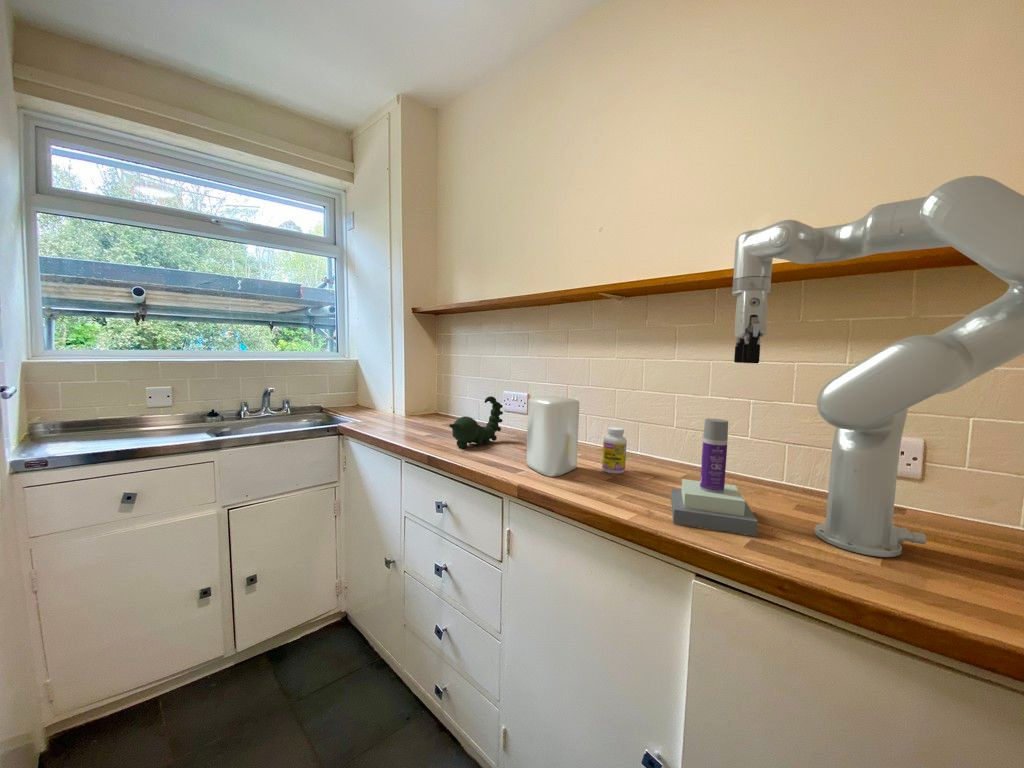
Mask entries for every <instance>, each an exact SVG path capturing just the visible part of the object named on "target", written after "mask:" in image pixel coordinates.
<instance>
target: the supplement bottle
mask: <svg viewBox="0 0 1024 768" xmlns="http://www.w3.org/2000/svg"><path fill="white" fill-rule="evenodd" d="M624 433H625V429H624V428H622V427H618V426H611V427H610V426H609V427H607V435H606V436H605V437H604V438H603V445H602V462H601V463H602V464H601V469H602V470H603V472H605V473H609V474H614V475H615V474H617V475H618V474H623V473H624V472H625V471H626V459H627V444H628V443H627V439H626V437H624Z"/></svg>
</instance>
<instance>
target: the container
mask: <svg viewBox="0 0 1024 768" xmlns="http://www.w3.org/2000/svg"><path fill="white" fill-rule="evenodd" d="M703 428H704V429H703V437H702V438H703V439H702V449H701V465H700V466H701V467H700V478H699V479H700V480H699V481H700V488H701V489H702V490H704V491H708V492H713V493H722V492H724V485H725V484H726V482H725V481H726V470H727V469H726V468H727V455H728V440H729V439H728V436H729V435H728V434H729V421H728V420H727V419H726V420H725V419H720V418H704V427H703Z"/></svg>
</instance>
